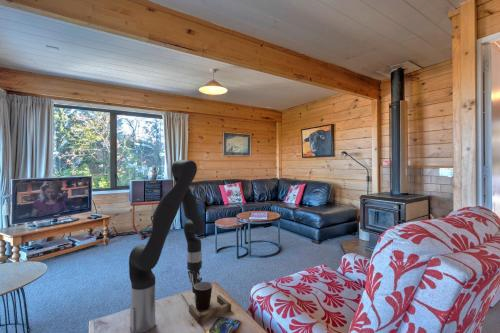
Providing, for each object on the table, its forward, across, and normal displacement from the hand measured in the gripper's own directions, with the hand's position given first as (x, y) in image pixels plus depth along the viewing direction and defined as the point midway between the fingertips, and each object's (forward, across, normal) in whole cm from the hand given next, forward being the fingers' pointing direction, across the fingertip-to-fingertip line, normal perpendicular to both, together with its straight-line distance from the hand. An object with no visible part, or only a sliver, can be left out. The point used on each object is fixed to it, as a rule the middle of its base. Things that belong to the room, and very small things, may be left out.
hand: (194, 292), depth 128 cm
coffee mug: (+2, +11, 0) cm, 11 cm away
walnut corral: (+2, +18, 0) cm, 18 cm away
